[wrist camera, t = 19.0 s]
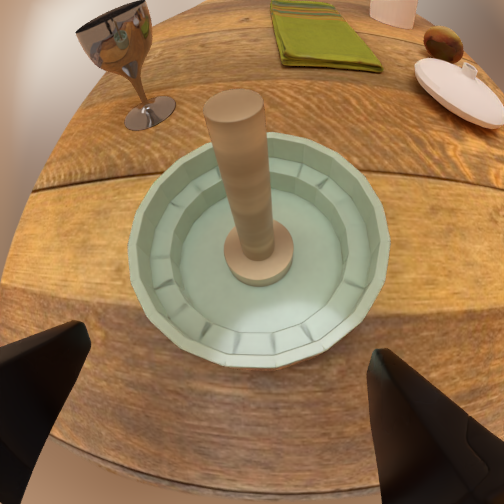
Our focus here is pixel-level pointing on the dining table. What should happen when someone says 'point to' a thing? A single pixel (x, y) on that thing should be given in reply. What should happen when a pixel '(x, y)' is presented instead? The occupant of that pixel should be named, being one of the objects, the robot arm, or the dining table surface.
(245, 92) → the beige piece
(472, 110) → the flat round vase
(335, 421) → the dining table surface
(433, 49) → the fruit
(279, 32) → the dish towel
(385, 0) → the bottle
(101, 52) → the wine glass
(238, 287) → the bowl
